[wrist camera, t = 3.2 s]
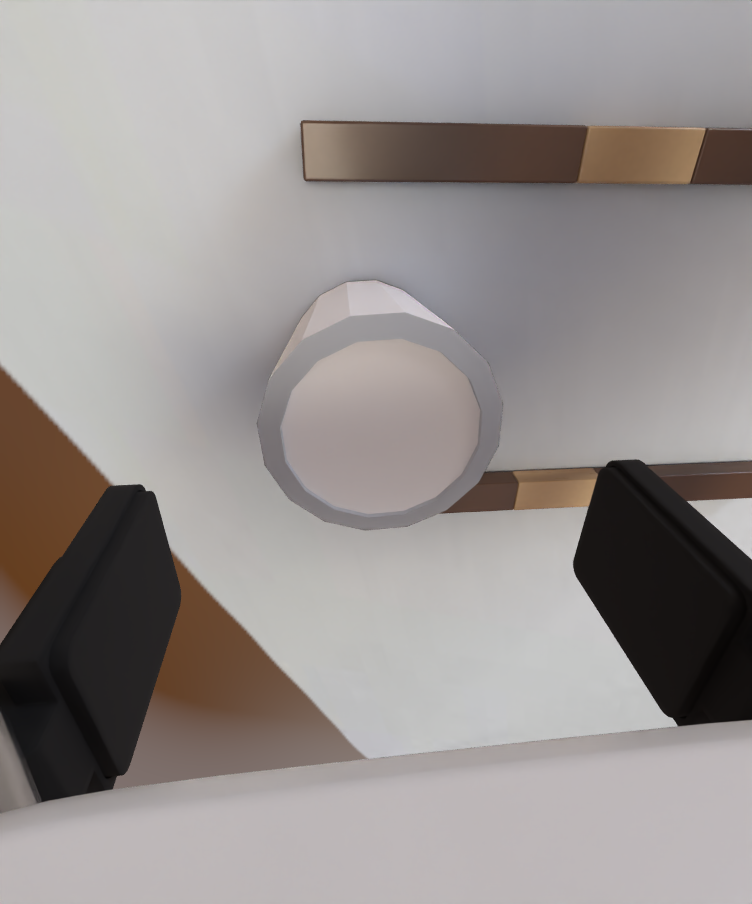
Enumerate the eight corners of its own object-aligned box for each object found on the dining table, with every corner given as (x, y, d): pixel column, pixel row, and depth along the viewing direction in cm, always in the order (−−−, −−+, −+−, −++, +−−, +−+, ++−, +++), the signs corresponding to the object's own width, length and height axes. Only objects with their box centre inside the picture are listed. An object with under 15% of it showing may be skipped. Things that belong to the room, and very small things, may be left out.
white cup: (429, 435, 22) (470, 539, 16) (273, 420, 21) (252, 526, 15) (467, 275, 18) (538, 331, 12) (283, 248, 17) (261, 294, 11)
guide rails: (927, 133, 17) (958, 132, 16) (752, 486, 25) (767, 497, 24) (301, 122, 15) (299, 120, 14) (323, 506, 23) (323, 520, 22)
